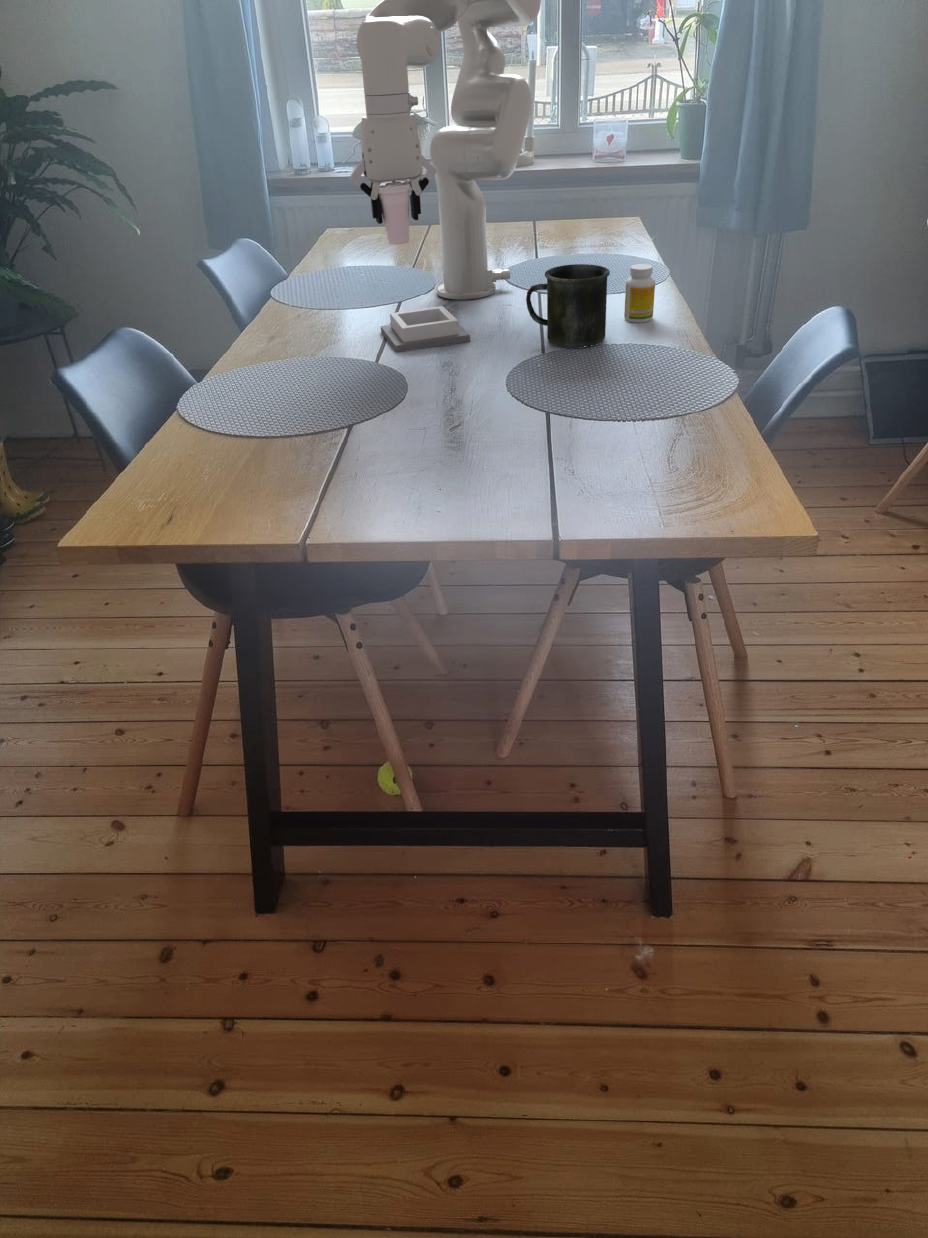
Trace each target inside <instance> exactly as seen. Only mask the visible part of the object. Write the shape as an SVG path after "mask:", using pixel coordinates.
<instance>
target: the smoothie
mask: <svg viewBox="0 0 928 1238" xmlns="http://www.w3.org/2000/svg"><path fill="white" fill-rule="evenodd" d="M410 190H412V189H411V186H410V182H408V181H405V180H395V181H385V182H381V185H380V187H379V193H378V195H379V199H380V200H381V208H382V219H383V224H384V228H385V232H386V236H387V240H388V244H389V245H395V246H396V245H404V244H407V243H409V242H410Z"/></svg>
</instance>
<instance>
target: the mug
mask: <svg viewBox="0 0 928 1238" xmlns="http://www.w3.org/2000/svg"><path fill="white" fill-rule="evenodd" d="M610 273H611V271H610V269H608V268H607V267H604V266H602V265H598V264H586V263H583V264H582V263H576V264H575V263H574V264H573V263H572V264H564V265H558V266H554V267H551V268H549V269H547V270H546V271H545V272H544V277H545V278H546V283H537V284H535V285H532V286H530V288H529V289H528V290H527V291H526V298H525V300H526V307H527V308H526V309H527V311H528V313H529V316H530V317H531V318H532V320H533V321H534V322H536V323H537V324H538V325H539V324H540V325H543V326H546V328H547V329H546V330H547V333H546V334H547V335H546V337H547V340H548V342H549V343H550V344H551V345H553V346H556V347H560V348H566V349H580V348H579V347H584V346H591V345H595V346H597V345H596V344H598V345H599V344H602V343H603V342H604V340H605V339H606V330H607V329H606V325H607V324H606V322H607V296H608V294H607V293H608V277H609V276H610V275H611V274H610ZM537 291H546V293H547V294H546V296H547V297H546V298H547V301H546V305H547V306H546V308H547V310H546V312H547V313H546V315H547V319H546V318H543V317H541V316H539V315H538V314H537V313H536V311H535V309H534V307H533V305H532V299H531V296H532V294H533V292H537ZM591 347H592V346H591Z"/></svg>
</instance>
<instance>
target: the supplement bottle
mask: <svg viewBox="0 0 928 1238" xmlns="http://www.w3.org/2000/svg"><path fill="white" fill-rule="evenodd" d="M653 268H654V266H653V265H651V264H648V263H640V264H639V263H638V264H633V265H631V266H630V271H629V274H630V277H628V278H627V279H626V282H625V296H624V312H623V313H624V316H623V317H624V320H625V321H627V322H629V323H637V324H638V323H639V324H641V323H647V322H650V321H652V320H653V316H654V304H655V290H656V281H655V278H654V277H653V276H652V274H653Z"/></svg>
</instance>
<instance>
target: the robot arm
mask: <svg viewBox="0 0 928 1238" xmlns="http://www.w3.org/2000/svg"><path fill="white" fill-rule="evenodd" d="M541 3H542V0H382V1H380V2H379V3H378V4H377V5H375V6H374V7H373V8H372V9H371V10H370V11H369V12H368V14H366V16H364V18H363V19H362V21H361V23H360V25H359V27H358V30H357V34H356V35H357V36H356V49H357V53H358V56H359V58H360V62H361V71H362V72H361V74H362V82H363V94H364V104H365V113H366V115H365V116H362V117H361V124H360V127H361V128H360V142H361V143H360V145H361V146H360V147H361V160H360V161H359V163H358V164H357V166H356V167H355V169H354V170H353V171H352V172H351V174H350V176H349V180H350V181H351V182H352V183H354V185H356V186H357V187H358V188H359V189H360V190H361V191H363V193H365V194H366V195H367V196H368V197H370V203H371V214H372V215H371V216H372V218H373V219H375V220H376V221H375V222H376V224H378V225H381V224H382V223H383V224H384V220H383V215H382V208H381V200H380V199H379V195H378V193H379V187H380V185H381V183H384V182H392V181H405V180H407V182H410V186H411V189H410V190H411V191H410V194H409V206H410V216H411V218H412V219H413V220H414V221H419V215H421V214H422V207H421V206H422V205H421V195H422V194H423V191H424V190H425V189H426V187H427V186H428V185H429V184H430V181H432V180H433V178H434V179H435V184H436V191H437V200H438V201H437V202H438V211H439V213H438V215H439V229H440V245H441V259H442V276H443V283H441V284H440V285H438V287H437V288H436V293H437V295H438V296H439V297H440V298H444V299H448V300H462V301H463V300H472V299H473V300H474V299H475V300H476V299H481V298H485V297H488V296H491V295H493V294H495V292H496V291H497V290H496V289H497V286H496V282H497V281H505V280H510V279H511V272H510V271H511V270H509V269H502V270H501V269H500V268H498V269H491V268H490V267H489V266H488V240H487V238H488V237H487V217H486V216H487V213H486V212H487V211H486V209H487V208H486V202H485V201H486V200H485V197H484V195H483V192H482V191H481V189H480V187H479V186H478V184H477V182H476V180H477V181H478V180H479V181H480V180H481V181H501V180H506V179H508V178H509V177H511V175H513V173H514V171H515V169H516V167H517V165H518V161H519V158H520V154H521V152H522V151H521V150H522V146H523V143H524V140H525V135H526V133H527V129H528V124H529V120H530V115H531V110H532V95H531V89H530V86H529V84H528V82H527V80H526V79H525V78H523V77H522V76H520V75H518V74H514V73H505V72H504V71H505V67H506V57H505V53H504V51H503V49H502V47H501V46H500V43H499V42H498V41H497V40H496V38H495V37H494V36H493V34H492V32H491V28H506V27H508V28H509V27H510V28H511V27H522V26H528V25H529V24H532V23H533V22H534V21H535V20H536V19H537V17H538V15H539V13H540V9H541ZM457 23H458V24H457ZM455 24H457V25H458V29H459V32H460V37H461V42H462V47H463V57H462V62H461V65H460V69H459V73H458V76H457V80H456V84H455V88H454V91H453V94H452V99H451V105H450V115H451V119H452V120H453V122H454V123H455V125H448V126H444V127H442V128H440V129H438V130H437V131H436V132H435V133H434V135H433V137H432V138H431V140H430V147H429V154H430V155H429V156H430V162H431V163H430V162H429V161H428V159H426V157H424V156H423V154H422V148H421V142H420V136H419V135H420V133H419V129H418V124H417V120H416V116H415V113H411V111H412V108H413V107H415V106H418V105H419V99H418V98H419V97H418V96H414V95H411V93H410V87H409V74H408V73H409V71H408V70H409V69H423V68H426V67H428V66H429V65H431V64H432V63H434V62H435V60H436V59H437V57H438V54H439V52H440V49H441V36H440V34H439V33H442V32H444V31H447V30H449V29H451V28H452V27H454V25H455ZM423 169H424V170H425V173H424V174H423ZM362 175H363V176H364V177H365V178H367V179H368V180H369V181H371V182H370V185H367V183H365V182H364V181H363V180H362V179H361V176H362ZM422 175H423V176H422ZM420 176H421V178H420V179H419V180H418V179H417V178H419V177H420Z"/></svg>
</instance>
